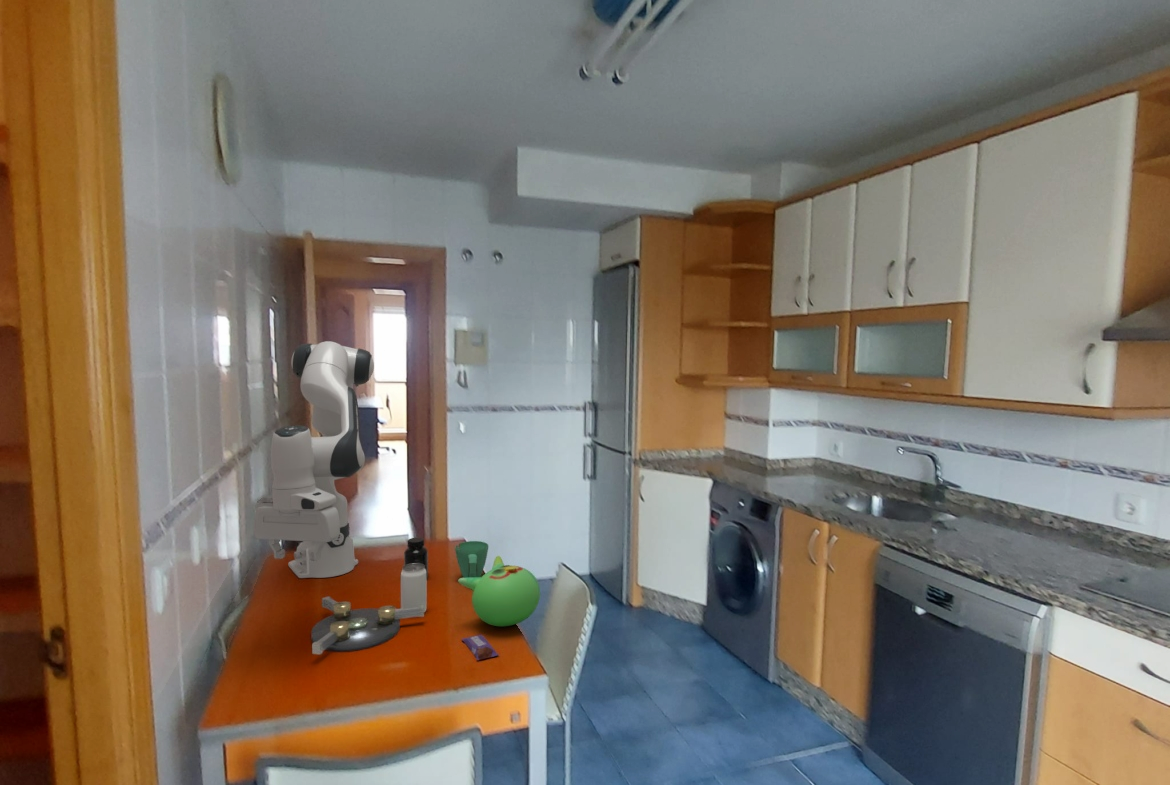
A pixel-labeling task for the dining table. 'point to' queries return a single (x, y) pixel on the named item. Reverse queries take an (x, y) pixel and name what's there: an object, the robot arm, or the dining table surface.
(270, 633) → the dining table surface
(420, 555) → the supplement bottle
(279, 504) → the robot arm
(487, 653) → the snack package
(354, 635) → the levelling plate
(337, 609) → the back knob
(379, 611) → the left knob
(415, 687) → the dining table surface
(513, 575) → the toy bird
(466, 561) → the mug
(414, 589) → the can
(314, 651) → the front knob
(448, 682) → the dining table surface
